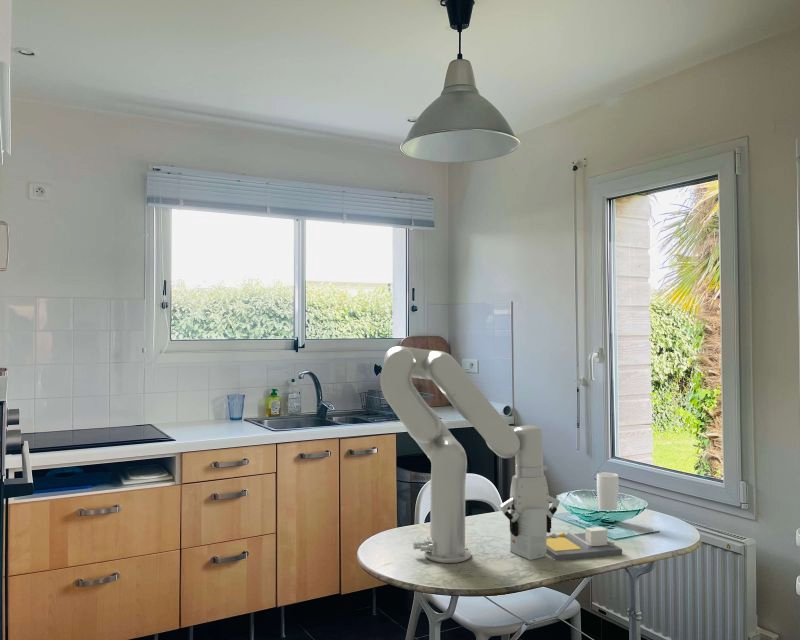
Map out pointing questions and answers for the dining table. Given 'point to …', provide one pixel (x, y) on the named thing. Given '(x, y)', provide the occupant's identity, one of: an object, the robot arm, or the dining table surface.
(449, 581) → the dining table surface
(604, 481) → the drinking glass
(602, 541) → the lever
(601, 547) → the plate
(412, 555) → the dining table surface
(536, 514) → the small box
